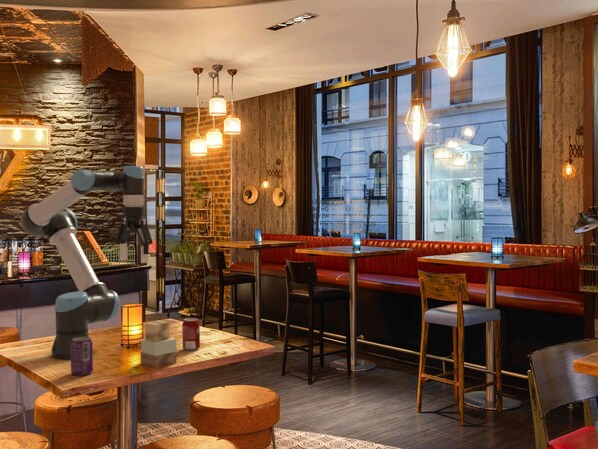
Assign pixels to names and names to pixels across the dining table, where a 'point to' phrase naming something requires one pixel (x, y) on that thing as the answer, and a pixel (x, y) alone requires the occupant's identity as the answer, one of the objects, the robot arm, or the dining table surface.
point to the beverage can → (81, 356)
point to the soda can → (191, 334)
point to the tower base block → (158, 359)
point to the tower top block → (158, 346)
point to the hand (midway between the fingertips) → (133, 261)
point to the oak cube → (157, 331)
